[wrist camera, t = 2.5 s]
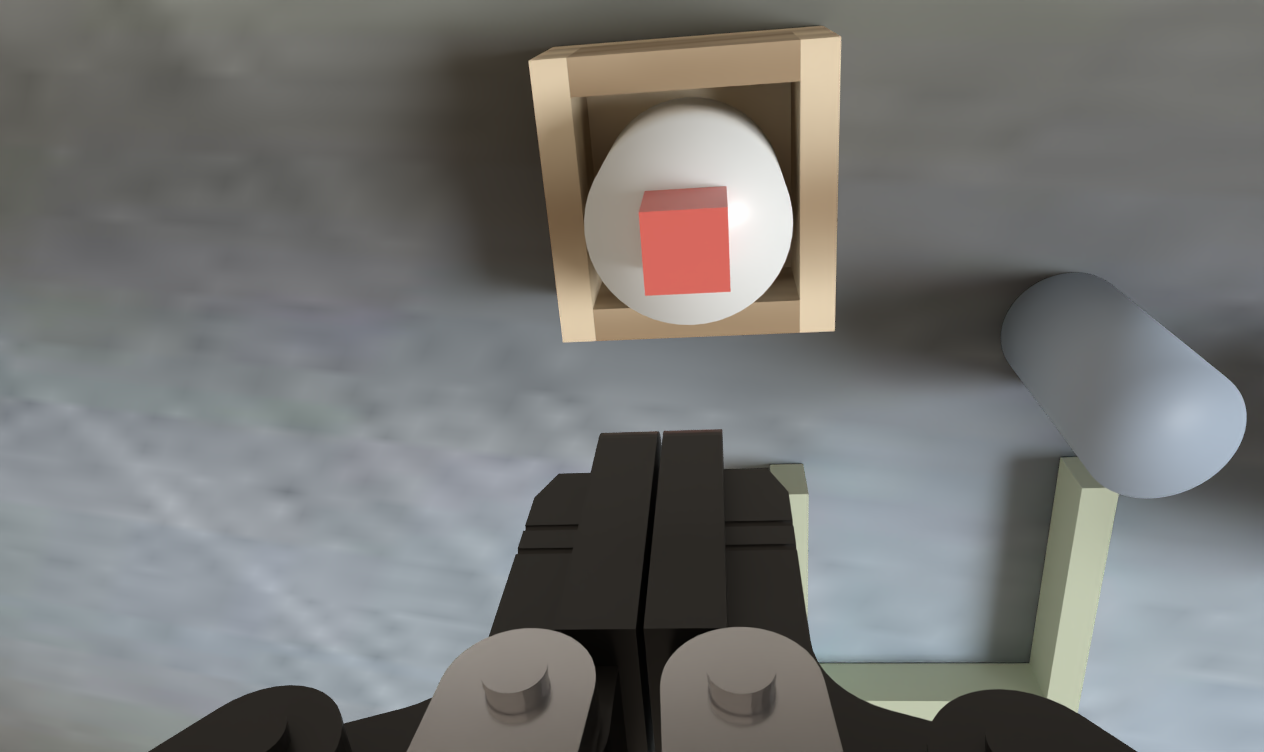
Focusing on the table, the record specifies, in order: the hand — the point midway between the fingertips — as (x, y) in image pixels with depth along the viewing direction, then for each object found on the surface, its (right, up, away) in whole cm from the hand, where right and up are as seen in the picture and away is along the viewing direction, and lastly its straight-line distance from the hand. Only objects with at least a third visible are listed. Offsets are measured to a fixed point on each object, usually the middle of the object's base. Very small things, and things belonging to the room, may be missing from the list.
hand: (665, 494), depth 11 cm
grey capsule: (+14, +3, +18) cm, 23 cm away
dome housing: (+1, +8, +17) cm, 18 cm away
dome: (+1, +7, +14) cm, 16 cm away
